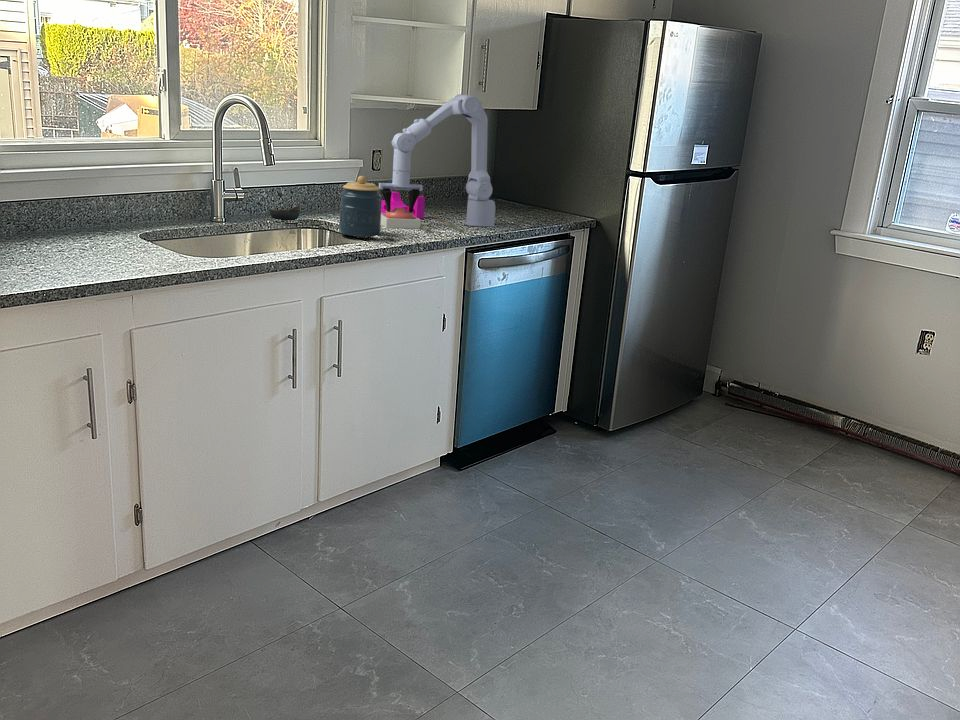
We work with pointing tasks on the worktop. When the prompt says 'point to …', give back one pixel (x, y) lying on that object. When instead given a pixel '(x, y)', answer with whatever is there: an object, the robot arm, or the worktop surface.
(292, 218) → the soup bowl
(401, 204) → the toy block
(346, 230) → the canister
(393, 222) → the white square frame
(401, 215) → the dome
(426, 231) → the game lane
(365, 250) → the worktop surface
